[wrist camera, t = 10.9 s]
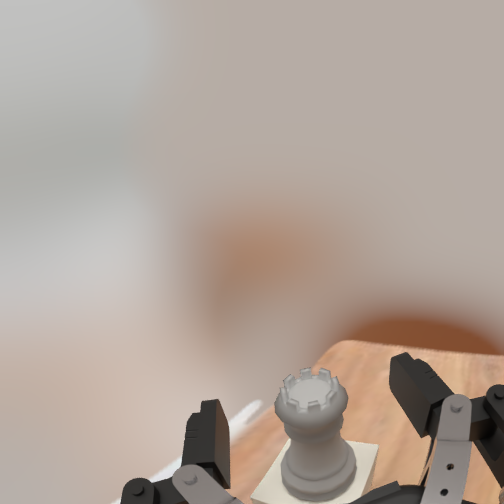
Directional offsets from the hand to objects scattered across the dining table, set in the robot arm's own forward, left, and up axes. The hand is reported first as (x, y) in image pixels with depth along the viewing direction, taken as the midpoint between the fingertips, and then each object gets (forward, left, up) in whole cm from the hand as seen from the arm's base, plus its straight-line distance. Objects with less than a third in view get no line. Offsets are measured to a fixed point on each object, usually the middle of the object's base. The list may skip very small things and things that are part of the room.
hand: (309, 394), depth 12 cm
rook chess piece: (0, 0, -7) cm, 7 cm away
